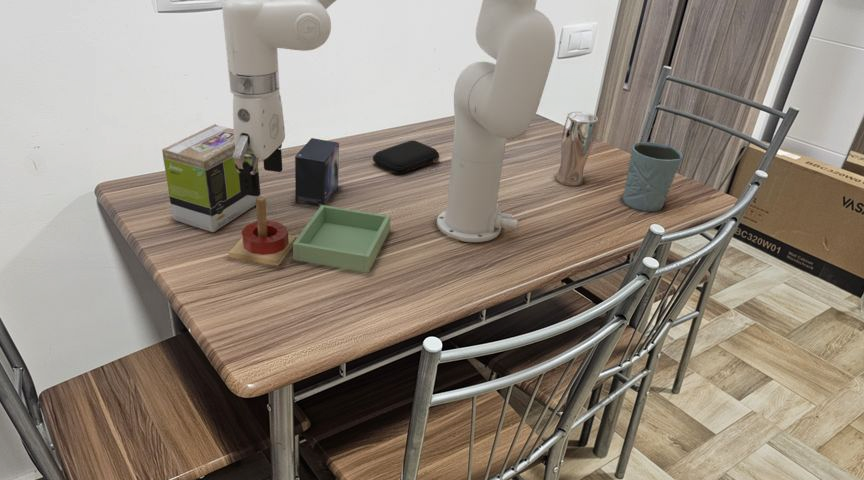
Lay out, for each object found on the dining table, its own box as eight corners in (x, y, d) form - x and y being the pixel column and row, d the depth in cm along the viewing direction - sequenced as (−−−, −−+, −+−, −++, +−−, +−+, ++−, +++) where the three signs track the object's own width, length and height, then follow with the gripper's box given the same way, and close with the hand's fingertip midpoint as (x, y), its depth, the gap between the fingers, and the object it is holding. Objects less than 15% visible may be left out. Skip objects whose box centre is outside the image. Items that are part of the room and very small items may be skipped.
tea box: (221, 191, 141) (215, 122, 133) (262, 203, 137) (258, 133, 129) (170, 220, 129) (160, 146, 121) (213, 234, 126) (205, 159, 118)
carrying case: (402, 179, 151) (445, 162, 160) (403, 166, 149) (446, 150, 158) (368, 164, 157) (412, 148, 166) (369, 151, 155) (413, 136, 164)
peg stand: (296, 243, 125) (295, 191, 119) (278, 268, 118) (275, 213, 112) (250, 235, 126) (246, 183, 121) (229, 259, 119) (224, 205, 113)
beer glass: (551, 182, 154) (563, 118, 146) (557, 171, 160) (569, 109, 152) (581, 189, 152) (596, 124, 144) (587, 177, 158) (601, 114, 150)
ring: (294, 236, 124) (293, 224, 123) (278, 257, 118) (277, 245, 116) (253, 229, 125) (253, 217, 124) (235, 250, 119) (234, 238, 118)
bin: (389, 232, 130) (390, 215, 128) (368, 275, 118) (368, 256, 116) (321, 221, 132) (321, 204, 130) (293, 261, 120) (292, 243, 118)
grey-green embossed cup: (610, 200, 148) (624, 148, 142) (632, 187, 155) (646, 137, 148) (654, 217, 143) (670, 164, 136) (675, 203, 149) (691, 151, 143)
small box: (325, 209, 137) (325, 160, 131) (294, 205, 138) (292, 156, 132) (340, 187, 145) (340, 141, 140) (310, 183, 146) (310, 136, 141)
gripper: (254, 101, 98) (263, 208, 107) (297, 68, 112) (301, 164, 121) (206, 95, 99) (218, 201, 108) (253, 63, 113) (261, 159, 122)
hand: (262, 182), depth 115 cm, fingers open, 9 cm apart
